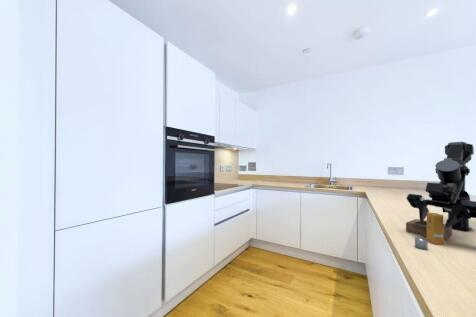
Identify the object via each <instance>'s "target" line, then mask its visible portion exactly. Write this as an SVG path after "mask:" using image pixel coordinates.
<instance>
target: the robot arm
mask: <svg viewBox="0 0 476 317" xmlns="http://www.w3.org/2000/svg"><path fill="white" fill-rule="evenodd" d="M474 148H475V147H474V144H471V143H466V142H465V141H454V142H453V141H452V142H448V143H447V144H446V145H445V146H444V154H445V155H446V157H444V158H443V160H440V161H438V162H437V163H436V164H435V173H436V175H437V178H438V180H439V182H426V187H425V192H426V193H428V197H429V199H428V198H425V197H423V195H421V194H415V193H408V194H407V196H406V200H407V202H408V203H409V205H410V206H411V207H412V208H415V209H417V210H418V213H419V219H420V221H421V222H423V221H424V220H425V219H427V213H430V210H429V209H428V206H433V207H436V208H441V209H442V213H446V214H447V219H446V222H445V224H446V225H445V226H446V227H447V228H448V227H450V226H452V230H453V229H454V230H459V231H464V232H470V231H472V230H473V227H472V226H471V227H470V221H469V220H471V219H472V218H473V219H476V201H474V200H471V197H470V196H471V195H470V194H469V192H467V191H466V176H469V174H470V173H471V169H470V168H469V167H468V165H467V164H468V163H469V162H470V161H471V160H472V155H474V152H475V150H474ZM466 165H467V166H466Z"/></svg>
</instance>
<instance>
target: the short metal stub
mask: <svg viewBox="0 0 476 317" xmlns="http://www.w3.org/2000/svg"><path fill="white" fill-rule="evenodd" d="M428 242H429V241H427V238H424V237H420V236H415V237H414V247H415V249H418V250H423V251H427V250H428V249H429V246H428Z"/></svg>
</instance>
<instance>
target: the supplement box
mask: <svg viewBox="0 0 476 317" xmlns="http://www.w3.org/2000/svg"><path fill="white" fill-rule="evenodd" d="M426 221H427V236H426V239H427V242H429V243H431V244H433V245H440V246H444V245H445V242H444V225H443V224H444V215H443V214H439V213H437V212H428V213H427V216H426Z"/></svg>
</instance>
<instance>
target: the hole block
mask: <svg viewBox="0 0 476 317" xmlns="http://www.w3.org/2000/svg"><path fill="white" fill-rule="evenodd" d="M443 225H444V240H446V239H448V238H450V237H451V236H452V235H453V228H452V226H450V227H448V228H447V227H446V226H445V225H446V223H443ZM405 232H407V233H411V234H415V235H419V236H423V235H424V236H423V237H427V220H425V219H424V221H423V222H421V221H420V218H419V219H418V218H414V219H412V220H409V221H407V222H405Z"/></svg>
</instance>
